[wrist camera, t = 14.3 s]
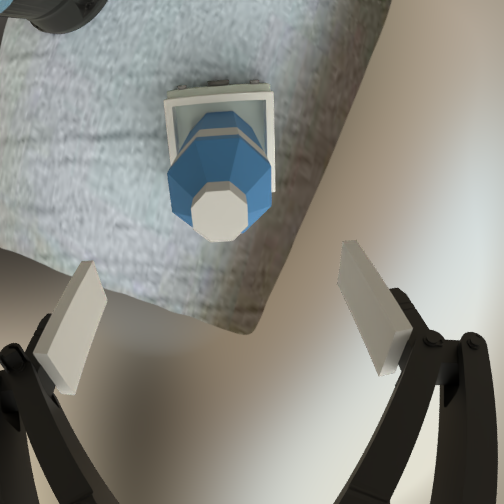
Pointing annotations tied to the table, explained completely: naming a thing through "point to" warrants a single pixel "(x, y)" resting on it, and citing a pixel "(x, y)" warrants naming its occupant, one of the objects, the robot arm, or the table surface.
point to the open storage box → (221, 100)
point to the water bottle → (220, 177)
